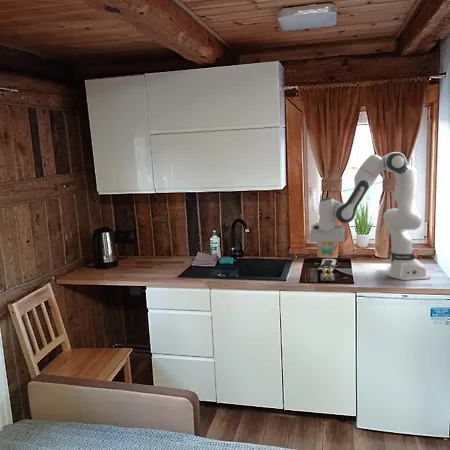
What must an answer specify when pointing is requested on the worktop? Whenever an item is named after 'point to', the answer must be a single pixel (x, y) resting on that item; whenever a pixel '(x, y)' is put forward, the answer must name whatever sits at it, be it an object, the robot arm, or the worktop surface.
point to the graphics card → (327, 264)
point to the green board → (326, 249)
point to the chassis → (327, 275)
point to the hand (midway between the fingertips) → (326, 249)
